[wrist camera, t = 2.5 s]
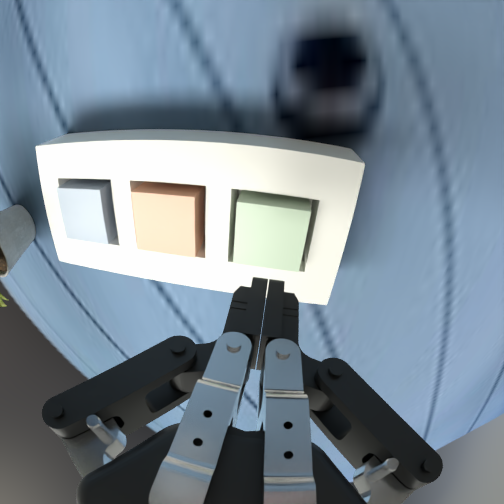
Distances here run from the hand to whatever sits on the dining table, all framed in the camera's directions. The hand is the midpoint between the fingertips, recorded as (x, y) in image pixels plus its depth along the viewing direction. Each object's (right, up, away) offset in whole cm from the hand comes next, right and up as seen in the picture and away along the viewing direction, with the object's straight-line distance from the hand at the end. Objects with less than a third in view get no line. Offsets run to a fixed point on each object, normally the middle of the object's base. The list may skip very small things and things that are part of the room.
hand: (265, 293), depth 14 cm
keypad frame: (-6, +6, +9) cm, 12 cm away
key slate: (-13, +6, +7) cm, 16 cm away
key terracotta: (-6, +5, +7) cm, 10 cm away
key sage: (+1, +4, +6) cm, 8 cm away
